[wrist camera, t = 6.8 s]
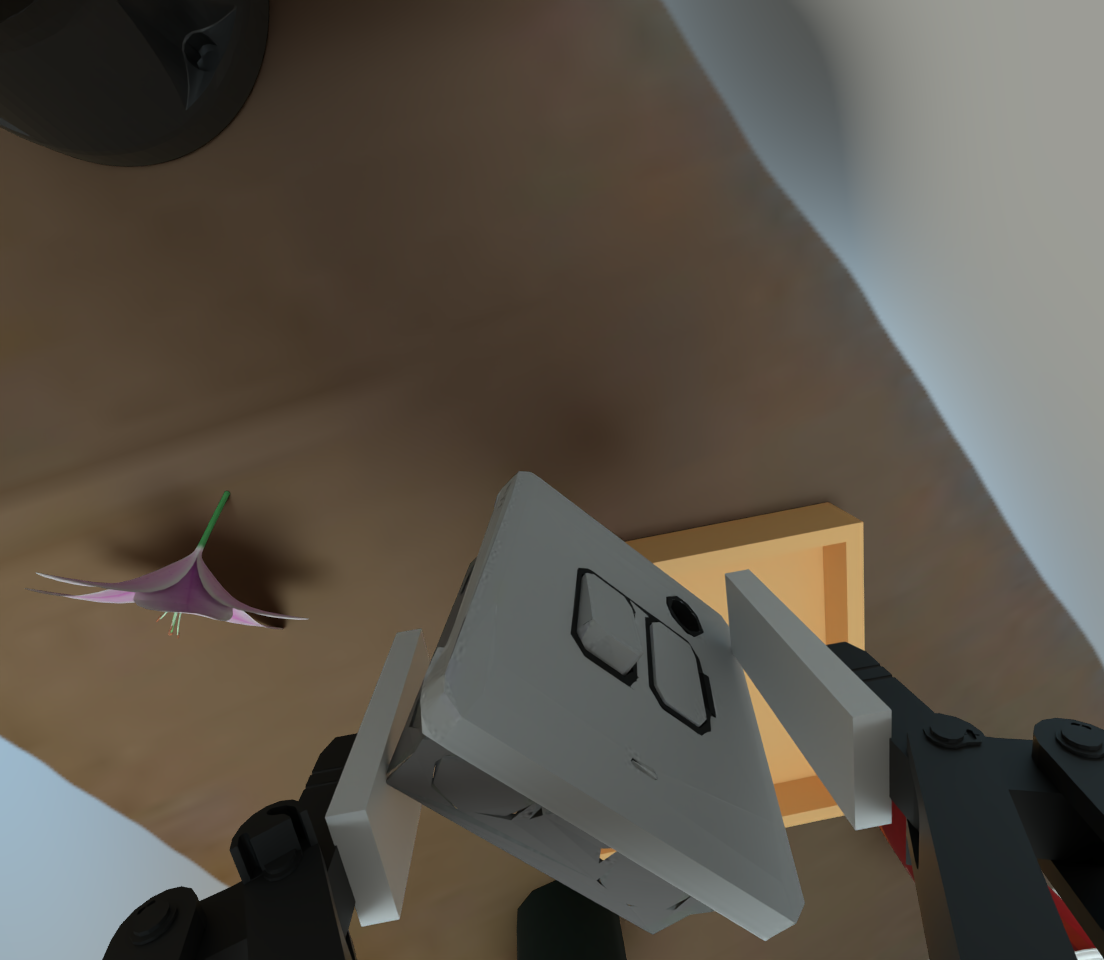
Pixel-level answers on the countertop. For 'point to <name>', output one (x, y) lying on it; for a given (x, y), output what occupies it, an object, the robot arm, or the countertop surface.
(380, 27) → the countertop surface
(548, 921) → the wine bottle
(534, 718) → the electrical switch
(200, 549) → the lily
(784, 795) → the wooden tray
